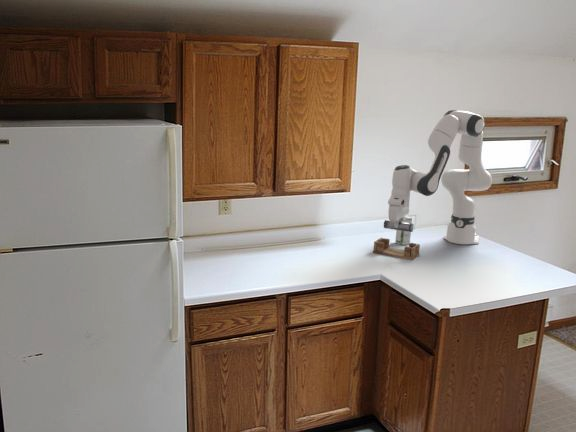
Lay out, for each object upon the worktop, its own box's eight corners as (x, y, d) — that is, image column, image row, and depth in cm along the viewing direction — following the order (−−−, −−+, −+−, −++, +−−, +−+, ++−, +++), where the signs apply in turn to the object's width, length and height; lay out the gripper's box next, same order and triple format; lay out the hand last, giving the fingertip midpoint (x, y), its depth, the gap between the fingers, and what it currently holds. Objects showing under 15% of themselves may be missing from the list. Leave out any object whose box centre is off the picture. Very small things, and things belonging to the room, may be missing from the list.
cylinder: (386, 227, 290) (386, 219, 289) (413, 231, 283) (414, 222, 282) (383, 228, 287) (383, 220, 286) (410, 232, 280) (411, 224, 279)
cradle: (380, 248, 297) (381, 237, 296) (419, 254, 288) (420, 244, 286) (373, 252, 289) (373, 242, 288) (412, 260, 279) (413, 249, 278)
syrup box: (394, 242, 308) (396, 215, 305) (404, 241, 311) (406, 215, 307) (401, 245, 303) (403, 218, 300) (410, 244, 306) (412, 217, 302)
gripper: (401, 194, 292) (399, 221, 295) (386, 201, 274) (385, 229, 278) (413, 196, 289) (411, 223, 292) (399, 203, 271) (397, 231, 275)
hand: (398, 226), depth 285 cm, fingers closed on cylinder, 4 cm apart
